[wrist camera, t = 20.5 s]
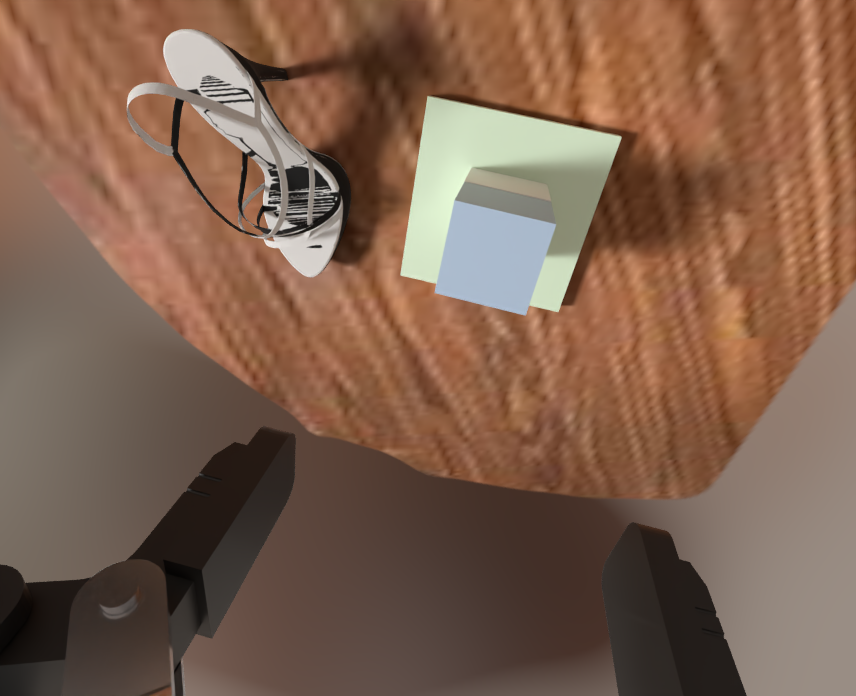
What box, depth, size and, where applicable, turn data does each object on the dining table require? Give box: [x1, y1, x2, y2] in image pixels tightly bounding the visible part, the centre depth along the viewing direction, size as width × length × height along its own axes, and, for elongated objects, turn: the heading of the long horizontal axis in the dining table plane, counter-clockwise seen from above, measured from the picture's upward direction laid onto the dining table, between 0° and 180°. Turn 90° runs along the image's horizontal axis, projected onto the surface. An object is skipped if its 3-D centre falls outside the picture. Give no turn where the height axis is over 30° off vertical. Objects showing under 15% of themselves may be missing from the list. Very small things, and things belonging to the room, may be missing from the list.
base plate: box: [401, 96, 622, 312], centre depth 34 cm, size 13×13×1 cm
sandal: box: [127, 29, 351, 277], centre depth 30 cm, size 15×9×15 cm, turn 164°
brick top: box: [435, 182, 556, 315], centre depth 28 cm, size 5×5×5 cm
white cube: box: [464, 168, 551, 202], centre depth 32 cm, size 5×5×5 cm
